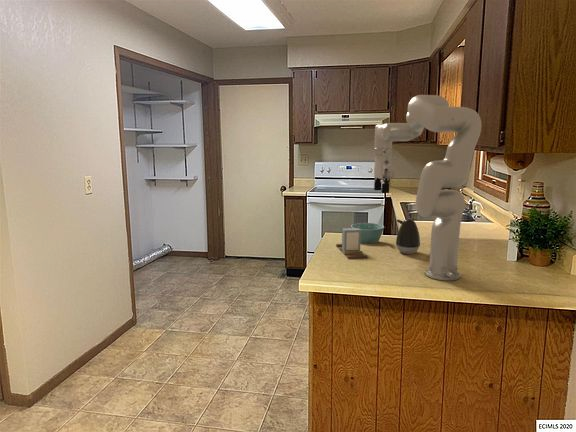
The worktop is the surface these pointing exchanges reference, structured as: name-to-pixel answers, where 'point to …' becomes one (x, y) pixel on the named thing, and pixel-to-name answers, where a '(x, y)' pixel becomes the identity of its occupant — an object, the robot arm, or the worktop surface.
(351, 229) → the picture frame
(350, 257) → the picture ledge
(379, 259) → the worktop surface
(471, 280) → the worktop surface
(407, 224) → the pump dispenser
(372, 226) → the bowl
